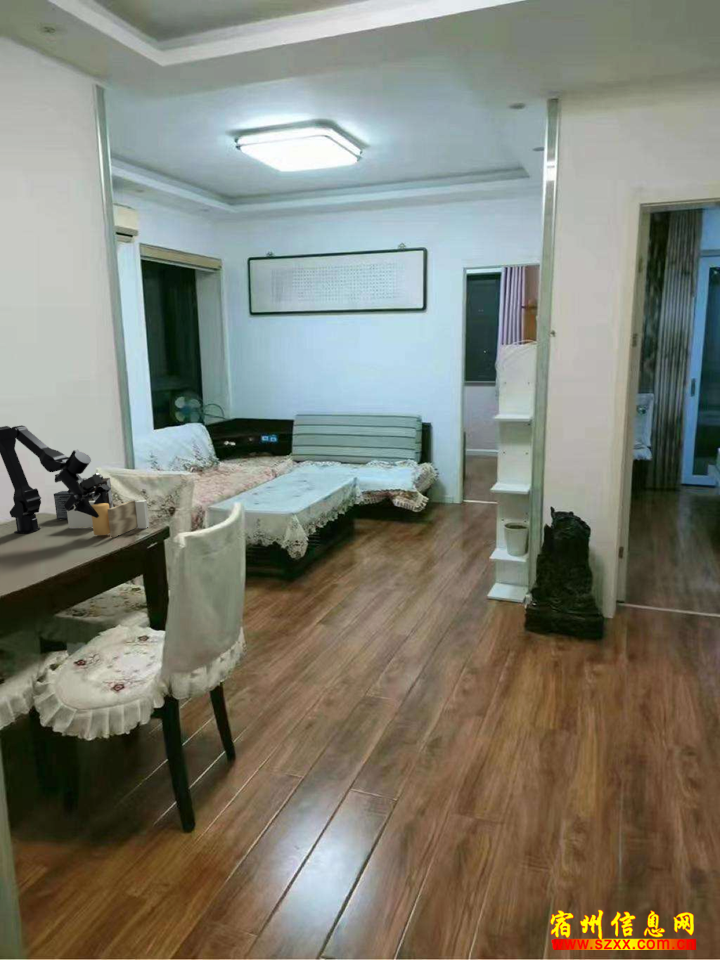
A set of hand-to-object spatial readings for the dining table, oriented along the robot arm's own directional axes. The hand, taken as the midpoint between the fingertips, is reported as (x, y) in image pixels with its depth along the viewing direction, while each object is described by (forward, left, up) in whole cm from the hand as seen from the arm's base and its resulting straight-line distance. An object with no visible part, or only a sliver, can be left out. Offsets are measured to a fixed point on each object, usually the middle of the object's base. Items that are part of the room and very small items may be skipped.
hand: (104, 514), depth 234 cm
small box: (-30, +24, -8) cm, 39 cm away
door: (+4, +5, -8) cm, 10 cm away
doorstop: (-1, 0, -7) cm, 7 cm away
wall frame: (-6, +11, -8) cm, 14 cm away
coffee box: (-15, +20, -8) cm, 26 cm away
